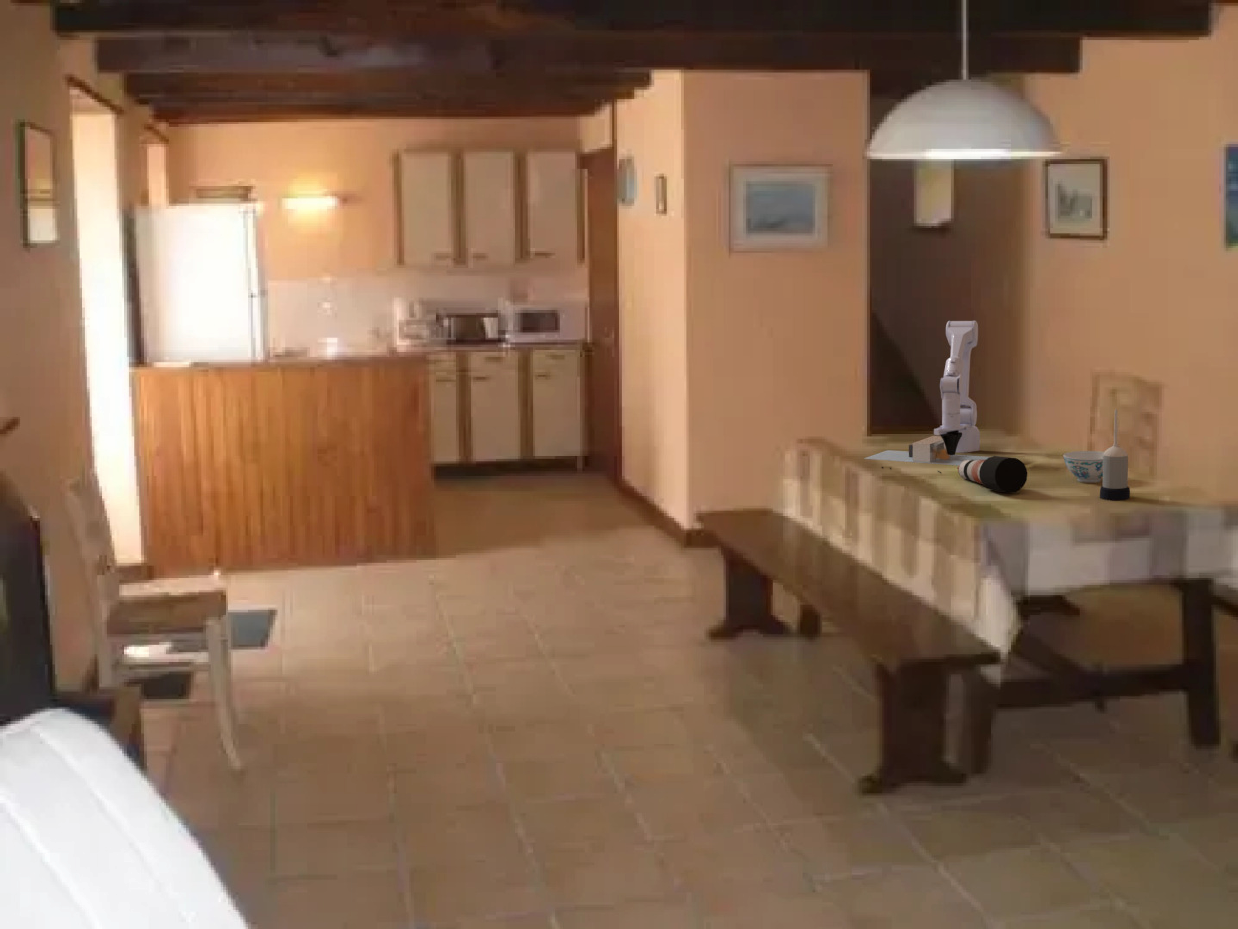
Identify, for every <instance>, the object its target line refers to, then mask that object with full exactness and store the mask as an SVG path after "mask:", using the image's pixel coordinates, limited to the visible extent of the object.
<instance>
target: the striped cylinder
mask: <svg viewBox="0 0 1238 929" xmlns="http://www.w3.org/2000/svg"><path fill="white" fill-rule="evenodd" d="M988 457H989V458H988V459H986V460H965V461H963V462H962V463H961V464H960V465H958V467H957V472H958V473H959V476H960V478H962V479H963V480H966V479H967V481H972V482H975V483H978V484H982V485H983V486H984V487H985V488H986V489H988V490H991V491H994V492H1002V493H1008V494H1010V493H1012V494H1013V493H1016V492H1019V491H1020V490H1021V489H1023V488H1024V486H1025V485H1026V483H1027V481H1028V480H1027V479H1028V469H1027V468H1026V465H1025V463H1024V462H1023V461H1022V460H1021V459H1018V458H1016V457H1009V456H1007V457H1006V456H997V455H993V456H988Z"/></svg>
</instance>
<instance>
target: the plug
mask: <svg viewBox="0 0 1238 929" xmlns="http://www.w3.org/2000/svg"><path fill="white" fill-rule="evenodd" d="M908 452H909V457H913V443H911V444H908ZM936 458H938V459H949V458H950V455H948V454H947V450H946V449H942V450H941V453H936Z"/></svg>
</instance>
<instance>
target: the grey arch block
mask: <svg viewBox="0 0 1238 929" xmlns="http://www.w3.org/2000/svg"><path fill="white" fill-rule="evenodd" d="M912 444H913V461H914V462H913V463H917V462H928V463H927V464H931V463H930V462H933V461H936V453H941V450H942V449H946V446H945V443H944V441H943V439H942V437H941V436H940V435H931V436H929V437H927V438H924V439H921V440H918V441H915V442H912Z"/></svg>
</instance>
